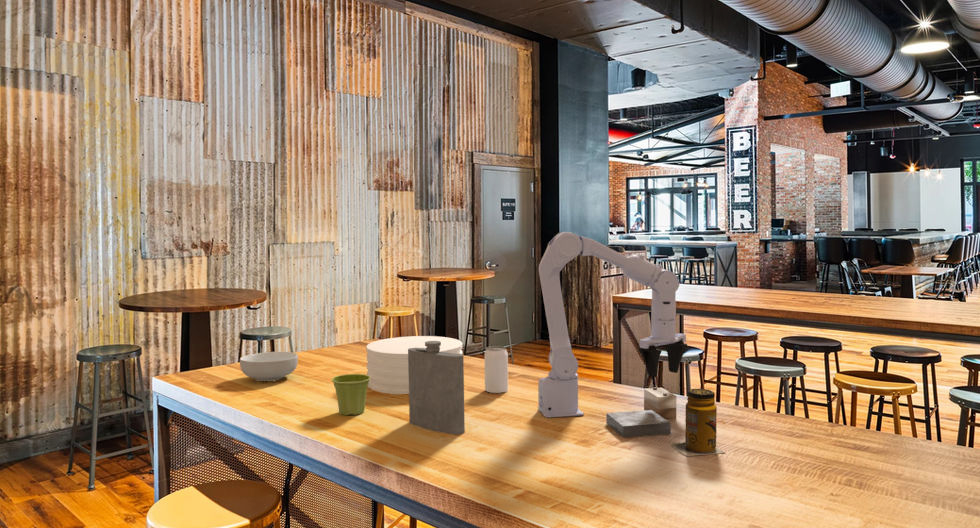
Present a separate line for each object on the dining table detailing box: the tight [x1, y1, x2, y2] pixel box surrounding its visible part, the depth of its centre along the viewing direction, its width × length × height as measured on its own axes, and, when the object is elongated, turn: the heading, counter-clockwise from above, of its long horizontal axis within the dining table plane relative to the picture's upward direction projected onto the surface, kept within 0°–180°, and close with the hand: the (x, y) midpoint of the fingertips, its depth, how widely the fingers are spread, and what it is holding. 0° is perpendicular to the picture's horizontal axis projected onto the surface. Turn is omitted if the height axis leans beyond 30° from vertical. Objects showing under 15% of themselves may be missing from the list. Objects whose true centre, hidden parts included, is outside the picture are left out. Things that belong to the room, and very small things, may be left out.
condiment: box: [669, 388, 725, 457], centre depth 134 cm, size 7×8×12 cm
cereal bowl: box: [239, 351, 299, 383], centre depth 200 cm, size 17×17×7 cm
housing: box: [643, 386, 678, 421], centre depth 158 cm, size 5×8×6 cm, turn 10°
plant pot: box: [331, 373, 371, 416], centre depth 163 cm, size 9×9×9 cm
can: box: [484, 345, 509, 394], centre depth 182 cm, size 6×6×12 cm
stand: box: [605, 409, 672, 438], centre depth 148 cm, size 11×10×2 cm
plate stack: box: [366, 335, 464, 395], centre depth 194 cm, size 28×28×12 cm
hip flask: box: [408, 341, 466, 436], centre depth 150 cm, size 16×4×20 cm, turn 52°
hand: (663, 374), depth 160 cm, fingers open, 7 cm apart
